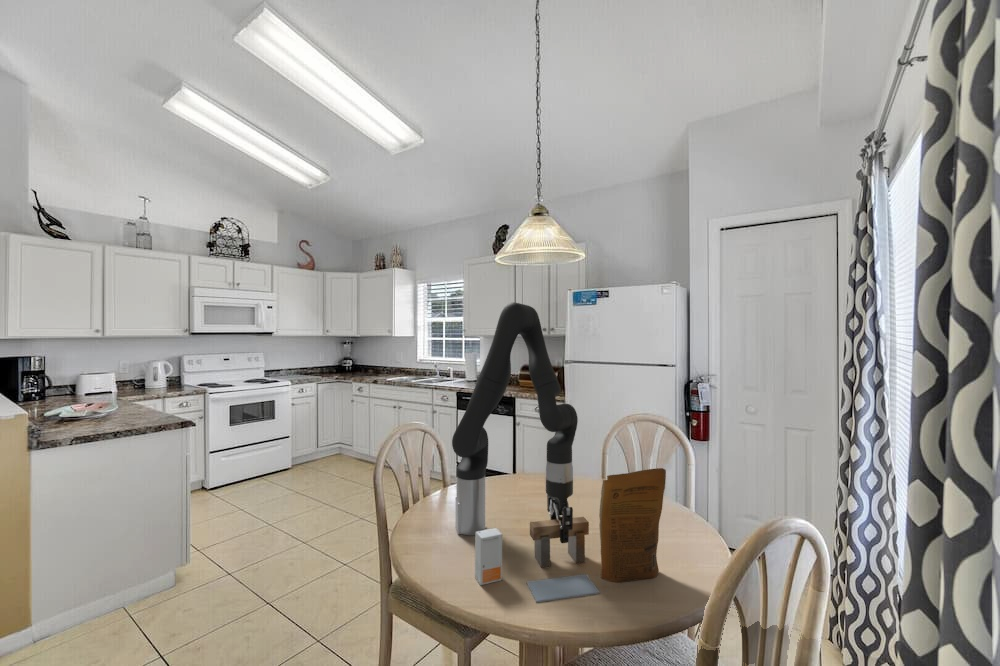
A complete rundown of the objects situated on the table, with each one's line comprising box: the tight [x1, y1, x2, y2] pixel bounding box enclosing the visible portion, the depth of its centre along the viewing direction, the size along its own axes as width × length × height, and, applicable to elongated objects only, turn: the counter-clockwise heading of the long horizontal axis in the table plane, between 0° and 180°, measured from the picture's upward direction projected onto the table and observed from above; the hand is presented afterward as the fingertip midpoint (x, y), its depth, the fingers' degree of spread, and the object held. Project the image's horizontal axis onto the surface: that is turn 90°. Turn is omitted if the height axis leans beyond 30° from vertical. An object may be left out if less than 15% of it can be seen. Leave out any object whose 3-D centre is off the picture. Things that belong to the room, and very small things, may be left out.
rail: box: [529, 516, 590, 542], centre depth 122 cm, size 16×4×4 cm, turn 103°
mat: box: [526, 573, 601, 603], centre depth 109 cm, size 16×8×1 cm, turn 103°
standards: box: [534, 531, 586, 569], centre depth 122 cm, size 12×6×8 cm, turn 103°
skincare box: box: [474, 527, 503, 586], centre depth 113 cm, size 6×4×12 cm
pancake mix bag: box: [598, 467, 667, 583], centre depth 114 cm, size 7×19×28 cm, turn 101°
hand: (559, 535), depth 122 cm, fingers open, 7 cm apart
